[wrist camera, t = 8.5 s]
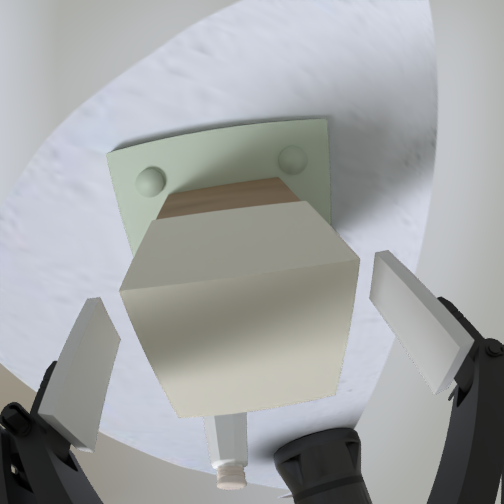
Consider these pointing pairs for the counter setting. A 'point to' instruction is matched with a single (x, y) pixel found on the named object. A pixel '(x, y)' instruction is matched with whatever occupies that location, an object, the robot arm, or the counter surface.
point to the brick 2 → (243, 307)
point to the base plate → (221, 167)
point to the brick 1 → (227, 197)
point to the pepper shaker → (228, 448)
